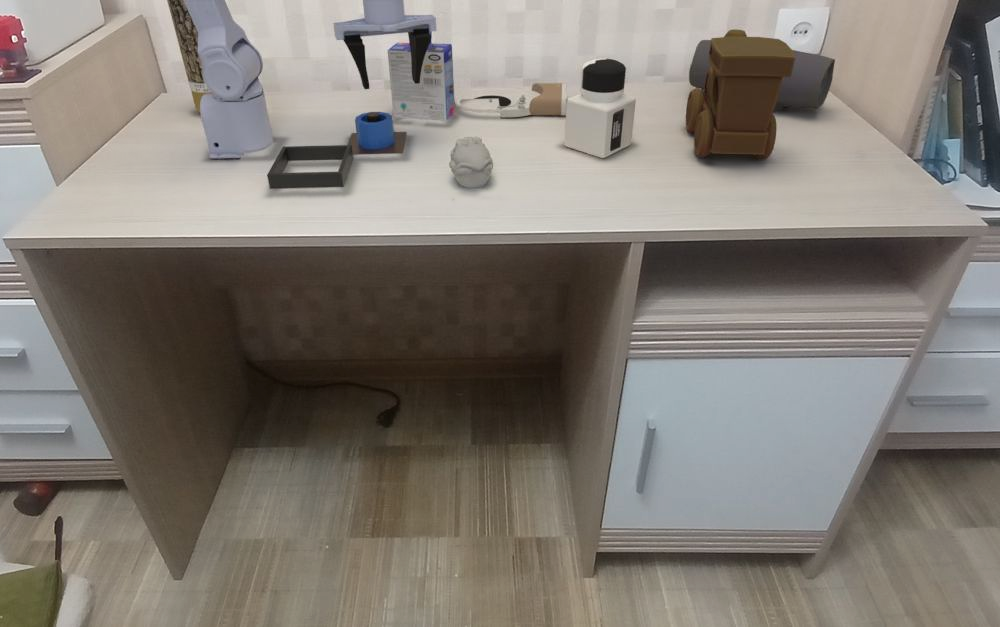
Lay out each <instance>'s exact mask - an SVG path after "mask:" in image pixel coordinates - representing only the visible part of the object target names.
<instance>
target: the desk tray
mask: <svg viewBox="0 0 1000 627" xmlns="http://www.w3.org/2000/svg"><path fill="white" fill-rule="evenodd" d="M337 160H338V161H340V160H341V162H340V165H339V168H338V171H310V172H309V171H307V172H306V171H305V172H284V171H285V168H287V165H288V163H289V162H296V161H297V162H298V161H299V162H300V161H303V162H305V161H337ZM353 160H354V155H353V152H352V145H348V144H334V145H333V144H332V145H331V144H330V145H297V146H296V145H294V146H291V145H290V146H282V147H281V149H280V151H279V152H278V154H277V156H276V158H275V160H274V162H273V164H272V165H271V166H270V167H271V168H270V169H269V171H268V173H267V174H266V176H267V181H268V186H269V189H277V190H278V189H279V190H280V189H311V188H312V189H316V188H319V189H320V188H344V187H345V184H346V181H347V178H348V175H349V173H350V169H351V167H352V163H353Z"/></svg>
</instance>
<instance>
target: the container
mask: <svg viewBox="0 0 1000 627" xmlns="http://www.w3.org/2000/svg"><path fill="white" fill-rule="evenodd" d="M626 74H627V67H626V66H625V64H623V63H622V62H620V61H619V60H616V59H612V58H594V59H591V60H587V61H585V62H584V63H583V65H582V66H581V74H580V87H579V88H580V93H578V94H576V95H573V96H571V97H568V98H566V116H565V129H564V130H565V131H564V146H565V147H566V148H570V149H572V150H576V151H578V152H581V153H585V154H587V155H591V156H594V157H597V158H599V159H605V158H607V157H609V156H611V155H613V154H615V153H617V152H620V151H621V150H624V149H625V148H627V147H630V145H632V141H633V140H632V139H633V131H634V122H635V121H634V120H635V112H636V102H637V98H636V96H633V95H628V94H624V93H625V83H626Z"/></svg>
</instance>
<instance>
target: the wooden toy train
mask: <svg viewBox="0 0 1000 627" xmlns="http://www.w3.org/2000/svg"><path fill="white" fill-rule="evenodd" d="M710 40H711V45H710V51H709V63H710V65H711V66H712V67H709V69H708V72H707V75H706V80H705V86H704V90H703V89H699V88H696V87H694V88H693V89H692V90H691V91H690V92H689V94H688V97H687V100H686V101H687V102H686V110H685V127H686V129H687V131H688V132H689V133H692V134H693V133H694V137H693V148H694V153H695V155H696V156H697V157H698V158H699V159H703V158H705V157H708V156H709V155H710V153H711V154H723V155H724V154H729V155H732V154H733V155H754V156H755V157H756V158H757V159H759V160H765V159H767V158H769V157H770V155H771V154H772V153H773V150H774V147H775V144H776V139H777V119H776V116H775V115H774V111H775V110H774V108H775V105H776V101H777V98H778V95H779V91H780V86H781V82H782V77H791V74H792V70H793V65H794V61H795V55H794V52H793V50H794V49H792V48H791V47H790V46H789V45H788V44H787V42H785V41H783V40H781V39H780V38H773V37H762V36H748V35H747V33H746V31H745V30H744V29H743V30H742V29H729V30H728V31H727V32H726V33H725V35H724V36H720V37H711V39H710ZM703 91H704V92H703Z"/></svg>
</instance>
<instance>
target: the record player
mask: <svg viewBox="0 0 1000 627" xmlns="http://www.w3.org/2000/svg"><path fill="white" fill-rule="evenodd" d="M488 99H489V100H488ZM493 99H495V100H496V99H497V100H498V106H497V109H484V108H483V109H482V108H480V109H479V108H470V107H465V106H463V104H461V101H462V100H488V102H489V103H492V102H493ZM454 102H455V107H457V108H458V109H460V110H463V111H466V112H472V113H482V114H484V113H486V114H499V116H500V118H522V117H527V116H531V115H532V116H565V117H566V105H567V83H562V82H561V83H560V82H559V83H557V82H553V83H552V82H550V83H549V82H536V83H533V84H532V86H531V89H528V88H517V87H484V88H483V87H481V88H474V89H473V88H472V89H468V90H465V91H462V92H460V93H458V94H457V95H456V96H454Z"/></svg>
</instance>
